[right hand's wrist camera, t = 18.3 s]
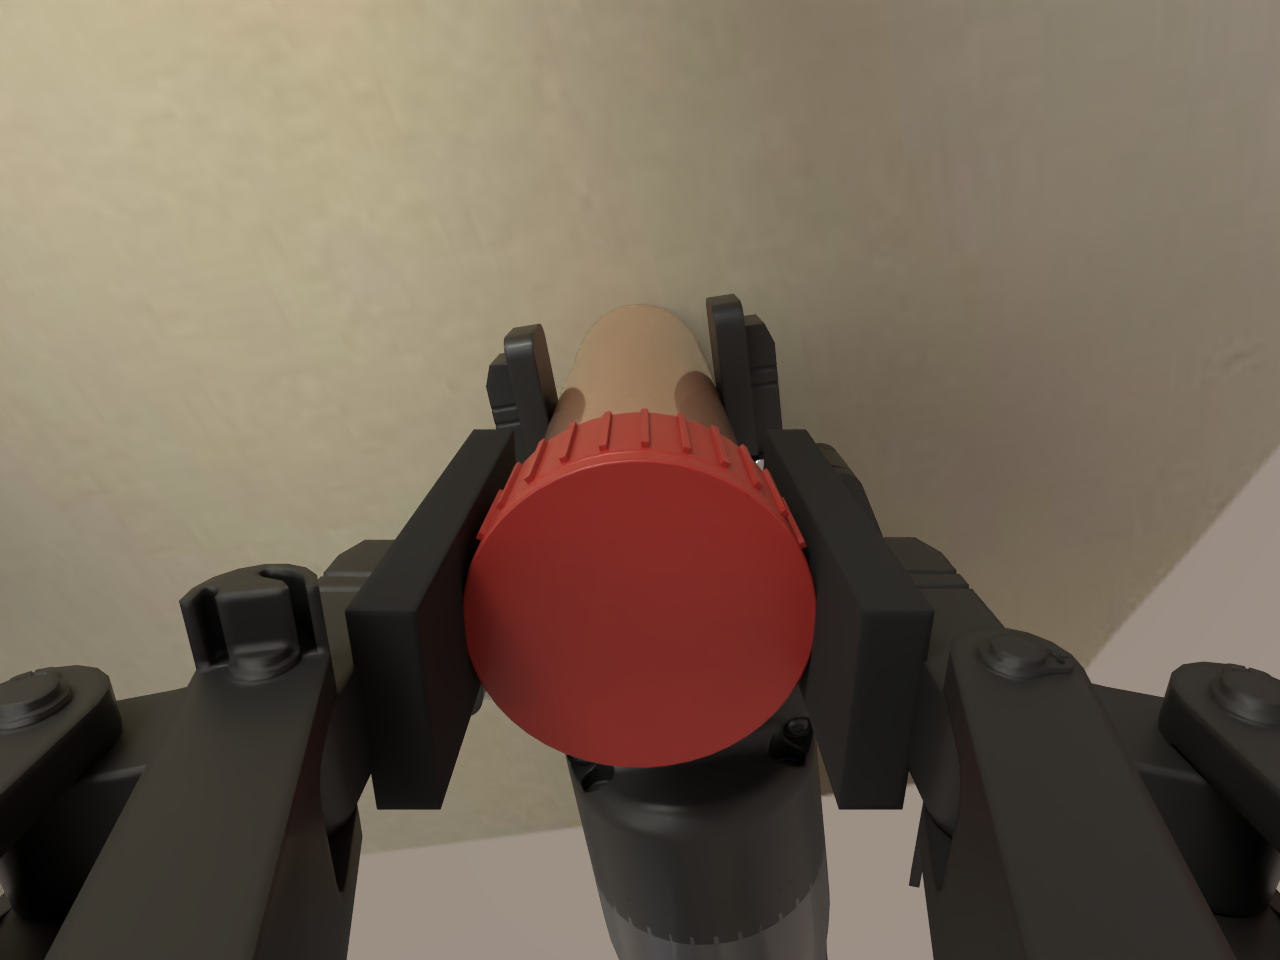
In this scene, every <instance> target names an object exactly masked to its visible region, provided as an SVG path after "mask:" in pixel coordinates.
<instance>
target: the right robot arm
mask: <svg viewBox="0 0 1280 960" xmlns="http://www.w3.org/2000/svg"><path fill="white" fill-rule="evenodd" d="M515 465H516V457H515V441H514V430H473V431H472V433H471V434H470V435H469V437H468V438H467V440H466V441H465V442H464V444H463V445H462V447H461V448H460V449H459V451H458V452H457V454H456V455H455V457H454V458H453V459H452V461H451V462H450V464H449V465H448V466H447V468H446V469H445V471H444V472H443V473H442V475H441V476H440V478H439V479H438V480H437V482H436V483H435V485H434V486H433V487H432V489H431V490H430V492H429V493H428V494H427V496H426V497H425V499H424V500H423V501H422V503H421V504H420V506H419V507H418V508H417V510H416V511H415V513H414V514H413V515H412V517H411V518H410V520H409V521H408V522H407V524H406V525H405V527H404V528H403V529H402V531H401V532H400V534H399V535H398V536H397V538H396V539H395V540H364V541H362V542H360V543H359V544H357V545H355V546H354V547H352V548H350V549H348V550H347V551H345V552H343V553H342V554H340V555H338V557H337V558H336V559H335V560H334V561H333V562H332V564H331V565H330V566H329V567H328V568H327V570H326V571H325V572H324V576H323V577H320V578H319V579H318V578H317V575H316V574H315V573H313V572H312V571H310V570H309V569H307V568H306V567H301V566H296V565H291V564H263V565H258V566H252V567H246V568H241V569H237V570H234V571H231V572H228V573H224V574H221V575H218V576H215V577H213V578H211V579H209V580H207V581H205V582H203V583H201V584H200V585H198V586H196V587H194V588H192V589H191V590H190V591H189V592H188V593H187V594H186V595H185V596H184V597H183V598H182V599H181V600H180V601H179V603H180V606H181V610H182V614H183V618H184V622H185V626H186V630H187V634H188V638H189V642H190V646H191V650H192V654H193V658H194V662H195V665H196V669H197V670H196V671H195V673H194V675H193V677H192V679H191V681H190V683H189V685H188V687H185V688H181V689H177V690H172V691H167V692H162V693H156V694H151V695H145V696H140V697H135V698H129V699H124V700H119V701H116V699H115V695H114V692H113V689H112V685H111V682H110V679H109V676H108V675H106V674H105V673H104V672H102V671H101V670H100V669H98V668H94V667H86V666H79V665H74V666H65V667H55V668H54V667H48V668H43V669H38V670H35V672H33V673H32V671H30V672H27V673H24V674H20V675H17V676H15V677H13V678H11V679H10V680H9V681H6V682H4V683H2V684H0V882H1V885H2V887H3V889H4V893H3V895H2V896H1V897H0V960H346V959H347V952H348V944H349V936H350V928H351V921H352V913H353V905H354V897H355V889H356V882H357V874H358V866H359V859H360V851H361V843H362V830H361V824H360V818H359V812H358V806H357V802H358V800H359V798H360V796H361V794H362V792H363V789H364V787H365V785H366V783H367V781H368V779H369V777H370V774H371V775H372V781H373V788H374V794H375V800H376V806H377V809H441V806H442V803H443V800H444V797H445V794H446V791H447V788H448V785H449V782H450V779H451V776H452V772H453V769H454V766H455V763H456V760H457V757H458V754H459V751H460V748H461V745H462V742H463V739H464V736H465V732H466V729H467V726H468V723H469V720H470V717H471V714H472V711H473V708H474V705H475V702H476V699H477V696H478V692H479V689H480V686H481V681H480V680H479V678H478V676H477V674H476V673H475V670H474V667H473V665H472V662H471V660H470V657H469V655H468V650H467V641H466V632H465V621H464V610H463V591H464V587H465V583H466V578H467V574H468V571H469V565H470V563H471V561H472V559H473V557H474V554H475V552H476V550H477V548H478V546H479V544H480V541H481V540H479V539H476V537H477V535H478V533H479V530H480V528H481V526H482V524H483V522H484V520H485V518H486V516H487V514H488V512H489V510H490V508H491V506H492V504H493V501H494V499H495V497H496V495H497V493H498V491H499V489H501V490H504V487H505V485H506V483H507V481H508V479H509V477H510V475H511V473H512V470H513V468H514V466H515ZM766 468H767V469H768V471H769V472H770V474H771V476H772V478H773V480H774V482H775V484H776V487H777V489H778V491H779V493H780V495H781V497H784V499H785V501H786V503H787V505H788V507H789V509H790V512H791V514H792V516H793V518H794V520H795V522H796V524H797V526H798V528H799V530H800V532H801V534H802V537H803V539H804V541H805V543H806V546H807V547H806V548H803V549H802V551H803V553H804V555H805V557H806V560H807V562H808V565H809V568H810V571H811V574H812V577H813V581H814V586H815V592H816V597H817V602H816V616H815V626H814V636H813V646H812V651H811V655H810V659H809V661H808V663H807V666H806V668H805V670H804V672H803V675H802V677H801V679H800V680H799V682H798V685H799V688H800V691H801V694H802V697H803V700H804V703H805V706H806V709H807V712H808V715H809V718H810V721H811V725H812V728H813V731H814V734H815V737H816V740H817V743H818V746H819V749H820V752H821V755H822V758H823V762H824V765H825V768H826V771H827V774H828V777H829V780H830V783H831V786H832V789H833V792H834V795H835V798H836V802H837V805H838V808H839V809H902V808H903V803H904V797H905V791H906V785H907V779H908V773H909V772H910V774H911V776H912V778H913V780H914V782H915V784H916V787H917V789H918V791H919V793H920V795H921V797H922V799H923V806H922V812H921V818H920V823H919V829H918V835H917V840H916V846H915V852H914V857H913V863H912V869H911V875H910V882H909V886H914V887H919V885H920V880H921V875H922V872H923V880H924V888H925V896H926V903H927V911H928V919H929V927H930V934H931V942H932V950H933V958H934V960H1280V893H1279V892H1278V891H1277V889H1276V888H1277V885H1278V883H1279V881H1280V680H1278V679H1276V678H1274V677H1271V676H1270V675H1269V674H1267V673H1265V672H1263V671H1259V670H1256V669H1253V668H1249V669H1246V668H1245V666H1241V665H1236V664H1221V663H1212V662H1197V663H1190V664H1183V665H1182V666H1180V667H1179V668H1177V669H1176V670H1175V671H1173V672H1172V674H1171V677H1170V680H1169V684H1168V687H1167V690H1166V694H1165V697H1158V696H1153V695H1147V694H1142V693H1136V692H1131V691H1126V690H1120V689H1115V688H1110V687H1105V686H1101V685H1097V684H1092V683H1091V682H1090V680H1089V678H1088V676H1087V674H1086V672H1085V670H1084V668H1083V667H1082V666H1081V665H1080V664H1079V663H1078V661H1077V660H1076V659H1075V658H1074V657H1073V656H1072V655H1071V654H1070V653H1068V652H1067V651H1065V650H1064V649H1062V648H1060V647H1059V646H1057V645H1056V644H1054V643H1053V642H1051V641H1048V640H1045V639H1043V638H1040V637H1038V636H1035V635H1033V634H1030V633H1027V632H1023V631H1018V630H1013V629H1008V628H1005V627H1004V626H1003V625H1002V624H1001V623H1000V621H999V620H998V619H997V618H996V617H995V615H994V614H993V613H992V612H991V611H990V610H989V608H988V607H987V606H986V605H985V604H984V602H983V601H982V600H981V599H980V598H979V597H978V595H977V594H976V593H975V592H974V591H973V589H969V585H968V584H967V582H966V581H965V580H964V579H963V578H962V576H961V575H960V574H956V569H955V568H954V567H953V566H952V565H951V563H950V562H949V561H948V560H947V559H946V558H945V556H944V555H943V554H942V553H941V552H939V551H938V550H936V549H934V548H932V547H931V546H929V545H927V544H925V543H924V542H922V541H920V540H919V539H917V538H915V537H882V536H881V534H880V533H879V532H878V530H877V529H876V527H875V526H874V525H873V523H872V522H871V520H870V519H869V518H868V516H867V515H866V513H865V512H864V510H863V509H862V508H861V506H860V505H859V503H858V502H857V501H856V499H855V498H854V496H853V495H852V494H851V492H850V491H849V489H848V488H847V487H846V485H845V484H844V482H843V481H842V480H841V478H840V477H839V475H838V474H837V473H836V471H835V470H834V468H833V467H832V466H831V464H830V463H829V461H828V460H827V459H826V457H825V456H824V454H823V453H822V452H821V450H820V449H819V447H818V446H817V445H816V443H815V442H814V440H813V439H812V437H811V436H810V435H809V433H808V432H807V430H766V434H765V450H764V466H763V470H765V469H766Z"/></svg>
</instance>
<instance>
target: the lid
mask: <svg viewBox="0 0 1280 960" xmlns="http://www.w3.org/2000/svg"><path fill="white" fill-rule="evenodd" d="M476 539H479V540H481V541H480V544H479V546H478V548H477V550H476V552H475V554H474V557H473V559H472V561H471V563H470V565H469V571H468V574H467V578H466V583H465V587H464V591H463V610H464V621H465V632H466V641H467V650H468V655H469V657H470V660H471V662H472V665H473V667H474V670H475V673H476V674H477V676H478V678H479V680H480V681H481V683H482V685H483V687H484V689H485V690H486V692H487V693H488V694H489V696H490V697H491V698H492V700H493V701H494V702H495V704H496V705H497V706H498V707H499V708H500V709H501V710H502V711H503V712H504V713H505V714H506V715H507V716H508V717H509V718H510V719H511V720H512V721H513V722H514V723H515V724H517V725H518V726H519V727H520V728H522V729H523V730H524V731H525V732H527V733H528V734H529V735H531V736H533V737H534V738H536V739H537V740H539V741H541V742H542V743H544V744H546V745H548V746H550V747H552V748H554V749H556V750H558V751H560V752H563V753H565V754H568V755H571V756H574V757H576V758H579V759H582V760H586V761H590V762H594V763H599V764H603V765H610V766H618V767H632V768H650V767H661V766H670V765H675V764H680V763H685V762H690V761H693V760H696V759H700V758H703V757H706V756H709V755H712V754H714V753H716V752H719V751H721V750H723V749H725V748H728V747H730V746H731V745H733V744H735V743H737V742H738V741H740V740H742V739H744V738H745V737H747V736H748V735H750V734H751V733H752V732H754V731H755V730H756V729H758V728H759V727H760V726H762V725H763V724H764V723H765V722H766V721H767V720H768V719H769V718H770V717H772V716H773V715H774V714H775V713H776V712H777V711H778V710H779V708H780V707H781V706H782V705H783V704H784V702H785V701H786V700H787V699H788V697H789V696H790V695H791V693H792V692H793V690H794V689H795V687H796V685H797V684H798V682H799V680H800V679H801V677H802V675H803V672H804V670H805V668H806V666H807V663H808V661H809V659H810V655H811V651H812V646H813V636H814V626H815V616H816V602H817V597H816V592H815V586H814V581H813V577H812V574H811V571H810V568H809V565H808V562H807V560H806V557H805V555H804V553H803V551H802V549H803V548H806V547H807V546H806V543H805V541H804V539H803V537H802V534H801V532H800V530H799V528H798V526H797V524H796V522H795V520H794V518H793V516H792V514H791V512H790V509H789V507H788V505H787V503H786V501H785V499H784V497H781V495H780V493H779V491H778V489H777V487H776V484H775V482H774V480H773V478H772V476H771V474H770V472H769V471H768V469H767V468H766V469H765V470H763V471H762V470H761V469H760V467H759V466H758V465H757V464H756V463H755V462H754V461H753V460H752V458H751V455H750V453H749V451H748V448H747V447H746V446H745V445H743V444H742V445H741V446H740V447H738V446H737V445H736V444H735V443H733V442H732V441H731V440H730V439H728V438H726V437H724V436H723V435H721V434H720V432H719V429H718V427H716V426H714V425H712V426H711V428H708V427H706V426H703V425H701V424H699V423H696V422H694V421H691V420H687V419H685V415H684V414H681V413H678V414H677V417H676V416H672V415H665V414H658V413H648V409H647V408H641V412H631V413H622V414H612V413H611V411H607V412H604V417H599V418H595V419H591V420H589V421H586V422H583V423H581V424H578V425H577V423H576V421H574V422H572V423H570V424H569V427H568V429H567V430H565V431H563V432H562V433H560V434H558V435H556V436H554V437H553V438H552V439H550V440H549V441H546V440H545V439H542V440H541V441H540V442H539V443H538V446H537V448H536V451H535V452H534V453H533V454H532V455H531V456H530V457H529V458H528V459H527V460H526V461H525V462H524V463H523V464H521V463H520V462H517V464H516V465H515V466H514V468H513V470H512V473H511V475H510V477H509V479H508V481H507V483H506V485H505V487H504V490H501V489H499V491H498V493H497V495H496V497H495V499H494V501H493V504H492V506H491V508H490V510H489V512H488V514H487V516H486V518H485V520H484V522H483V524H482V526H481V528H480V530H479V533H478V535H477V537H476Z"/></svg>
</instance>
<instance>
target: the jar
mask: <svg viewBox="0 0 1280 960" xmlns="http://www.w3.org/2000/svg"><path fill="white" fill-rule="evenodd" d="M641 408H647V409H648V413H658V414H665V415H672V416H676V417H677V414H678V413H681V414H684V415H685V419H687V420H691V421H694V422H696V423H699V424H701V425H703V426H706V427H708V428H711V426H712V425H714V426H716V427H718V429H719V432H720V434H721V435H723V436H724V437H726V438H728V439H730V440H731V441H732V442H733V443H735V444H736V445H737V446H738V447H739V444H738V442H737V439H736V437H735V434H734V432H733V429H732V427H731V424H730V422H729V419H728V417H727V414H726V412H725V409H724V407H723V404H722V402H721V399H720V397H719V394H718V392H717V389H716V387H715V384H714V382H713V379H712V377H711V374H710V372H709V369H708V367H707V364H706V362H705V359H704V357H703V354H702V352H701V349H700V347H699V344H698V342H697V340H696V338H695V336H694V335H693V333H692V331H691V330H690V329H689V328H688V326H687V325H686V324H685V323H684V322H683V321H682V320H680V319H679V318H678V317H677V316H675V315H674V314H672V313H670V312H668V311H666V310H664V309H661V308H658V307H654V306H649V305H630V306H625V307H621V308H619V309H616V310H613V311H611V312H610V313H608V314H606V315H605V316H603V317H602V318H600V319H599V320H598V321H597V322H596V323H595V324H594V325H593V326H592V327H591V328H590V330H589V331H588V332H587V334H586V336H585V337H584V339H583V341H582V343H581V346H580V348H579V351H578V353H577V356H576V358H575V361H574V363H573V366H572V368H571V371H570V373H569V376H568V378H567V381H566V383H565V386H564V388H563V391H562V393H561V395H560V398H559V400H558V403H557V405H556V408H555V410H554V413H553V415H552V418H551V420H550V423H549V425H548V428H547V430H546V433H545V435H544V438H543V439H545V440H546V441H549V440H550V439H552V438H553V437H554V436H556V435H558V434H560V433H562V432H563V431H565V430H567V429H568V427H569V424H570V423H572V422H574V421H576V423H577V425H578V424H581V423H583V422H586V421H589V420H591V419H595V418H599V417H604V412H607V411H611V413H612V414H622V413H631V412H641Z"/></svg>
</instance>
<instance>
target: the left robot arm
mask: <svg viewBox="0 0 1280 960" xmlns="http://www.w3.org/2000/svg"><path fill="white" fill-rule="evenodd" d="M706 307H707V317H708V325H709V333H710V341H711V350H712V358H713V366H714V374H715V383H716V389H717V392H718V394H719V397H720V399H721V402H722V404H723V407H724V409H725V412H726V414H727V417H728V419H729V422H730V424H731V427H732V429H733V432H734V434H735V437H736V439H737V442H738V444H739V447H740V446H741V445H742V444H743V445H745V446H746V447H747V448H748V451H749V453H750V455H751V458H752V460H753V461H754V462H755V463H756V464H757V465H758V466H759V467H760V469H761V470H762V471H763V466H764V450H765V434H766V430H782V420H781V408H780V397H779V386H778V375H777V367H776V365H777V364H776V353H775V343H774V341H773V339H772V337H771V335H770V333H769V331H768V329H767V327H766V326H765V324H764V322H763V321H762V320H761V319H760V318H759V317H758V316H757V315H756V314H754V315H748V316H744V315H743V309H742V305H741V301H740V300H739V299H738V298H737V297H736V296H735V295H734V294H729V295H722V296H716V297H710V298H706ZM504 351H505V353H502V354H499V355H498V356H497V358H496V359H495V360H494V361H493V362H492V363H491V364H490V366H489V372H488V379H487V385H486V388H487V392H488V396H489V401H490V405H491V408H492V413H493V417H494V422H495V424H496V430H514V441H515V457H516V464H517V462H520V463H521V464H523V463H524V462H525V461H526V460H527V459H528V458H529V457H530V456H531V455H532V454H533V453H534V452H535V451H536V448H537V446H538V443H539V442H540V441H541V440H542V439H543V438H544V435H545V433H546V430H547V428H548V425H549V423H550V420H551V418H552V415H553V413H554V410H555V408H556V405H557V403H558V397H557V392H556V388H555V383H554V378H553V373H552V368H551V363H550V358H549V353H548V348H547V343H546V338H545V334H544V331H543V328H542V325H541V324H535V325H529V326H523V327H517V328H513V329H512V330H511V331H510V332H509V333H508V334H507V335H506V336H505V338H504ZM816 445H817V446H818V447H819V449H820V450H821V452H822V453H823V454H824V456H825V457H826V459H827V460H828V461H829V463H830V464H831V466H832V467H833V468H834V470H835V471H836V473H837V474H838V475H839V477H840V478H841V480H842V481H843V482H844V484H845V485H846V487H847V488H848V489H849V491H850V492H851V494H852V495H853V496H854V498H855V499H856V501H857V502H858V503H859V505H860V506H861V508H862V509H863V510H864V512H865V513H866V515H867V516H868V518H869V519H870V520H871V522H872V523H873V525H874V526H875V527H876V529H877V530H878V532H879V533H880V534H881V536H882V533H881V531H880V528H879V526H878V523H877V521H876V518H875V516H874V513H873V511H872V508H871V506H870V504H869V501H868V499H867V496H866V494H865V491H864V489H863V486H862V484H861V482H860V481H859V480H858V479H857V477H856V476H855V475H854V473H853V472H852V471H851V469H850V468H849V467H848V465H847V464H846V463H845V462H844V460H843V459H842V458H841V456H840V455H839V454H838V453H837V451H836V450H835V449H834V448H833V447H832V446H830V445H828V444H824V443H816ZM882 537H883V536H882ZM483 699H488V700H492V698H491V697H490V696H489V694H488V693H487V692H486V690H485V689H484V687H483V685H482V683H481V686H480V689H479V692H478V696H477V699H476V702H475V705H474V708H473V711H472V714H471V715H473V714H475V713H476V712H477V711H478V710H479V709H480V707H481V705H482V702H483ZM566 759H567V763H568V767H569V772H570V776H571V780H572V784H573V788H574V792H575V797H576V801H577V805H578V809H579V813H580V817H581V822H582V826H583V830H584V834H585V838H586V842H587V846H588V850H589V854H590V859H591V863H592V867H593V871H594V875H595V880H596V884H597V888H598V892H599V897H600V901H601V905H602V909H603V913H604V917H605V921H606V925H607V928H608V932H609V935H610V938H611V941H612V944H613V946H614V948H615V951H616V953H617V956H618V958H619V960H827V944H826V940H827V933H828V923H829V905H830V899H829V883H828V871H827V859H826V847H825V835H824V825H823V814H822V802H821V791H820V779H819V768H818V757H817V745H816V737H815V734H814V731H813V728H812V725H811V721H810V718H809V715H808V712H807V709H806V706H805V703H804V700H803V697H802V694H801V691H800V688H799V685H798V684H797V685H796V687H795V689H794V690H793V692H792V693H791V695H790V696H789V697H788V699H787V700H786V701H785V702H784V704H783V705H782V706H781V707H780V708H779V710H778V711H777V712H776V713H775V714H774V715H773V716H772V717H770V718H769V719H768V720H767V721H766V722H765V723H764V724H763V725H762V726H760V727H759V728H758V729H756V730H755V731H754V732H752V733H751V734H750V735H748V736H747V737H745V738H744V739H742V740H740V741H738V742H737V743H735V744H733V745H731V746H730V747H728V748H725V749H723V750H721V751H719V752H716V753H714V754H712V755H709V756H706V757H703V758H700V759H696V760H693V761H690V762H685V763H680V764H675V765H670V766H661V767H650V768H632V767H618V766H610V765H603V764H599V763H594V762H590V761H586V760H582V759H579V758H576V757H574V756H571V755H568V754H566Z"/></svg>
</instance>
